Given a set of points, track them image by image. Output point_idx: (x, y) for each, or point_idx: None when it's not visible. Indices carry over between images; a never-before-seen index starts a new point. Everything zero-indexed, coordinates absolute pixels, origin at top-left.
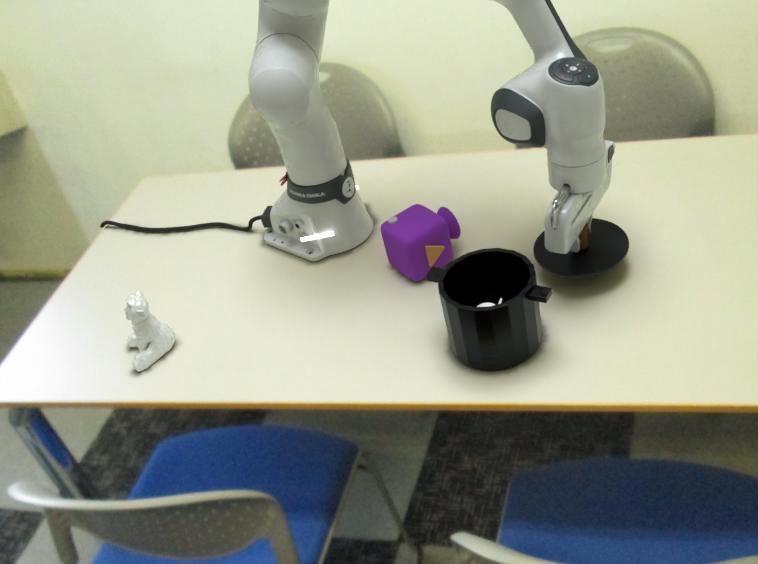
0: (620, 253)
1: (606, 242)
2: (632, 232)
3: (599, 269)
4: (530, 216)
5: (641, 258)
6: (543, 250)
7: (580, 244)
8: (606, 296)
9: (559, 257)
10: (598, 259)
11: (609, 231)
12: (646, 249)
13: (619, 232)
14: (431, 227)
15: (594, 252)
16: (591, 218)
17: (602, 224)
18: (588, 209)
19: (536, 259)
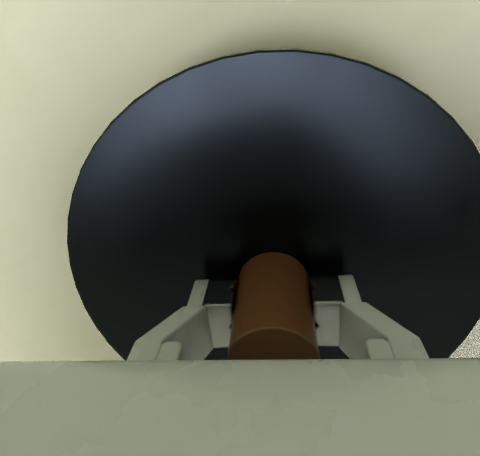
0: (275, 81)
1: (213, 188)
2: (13, 140)
3: (439, 131)
4: None
5: (134, 33)
6: None
7: (332, 289)
8: (414, 67)
9: None
10: (357, 169)
11: (130, 208)
12: (72, 39)
13: (115, 161)
14: None
15: (307, 208)
16: (170, 327)
17: (101, 254)
18: (284, 445)
19: None
